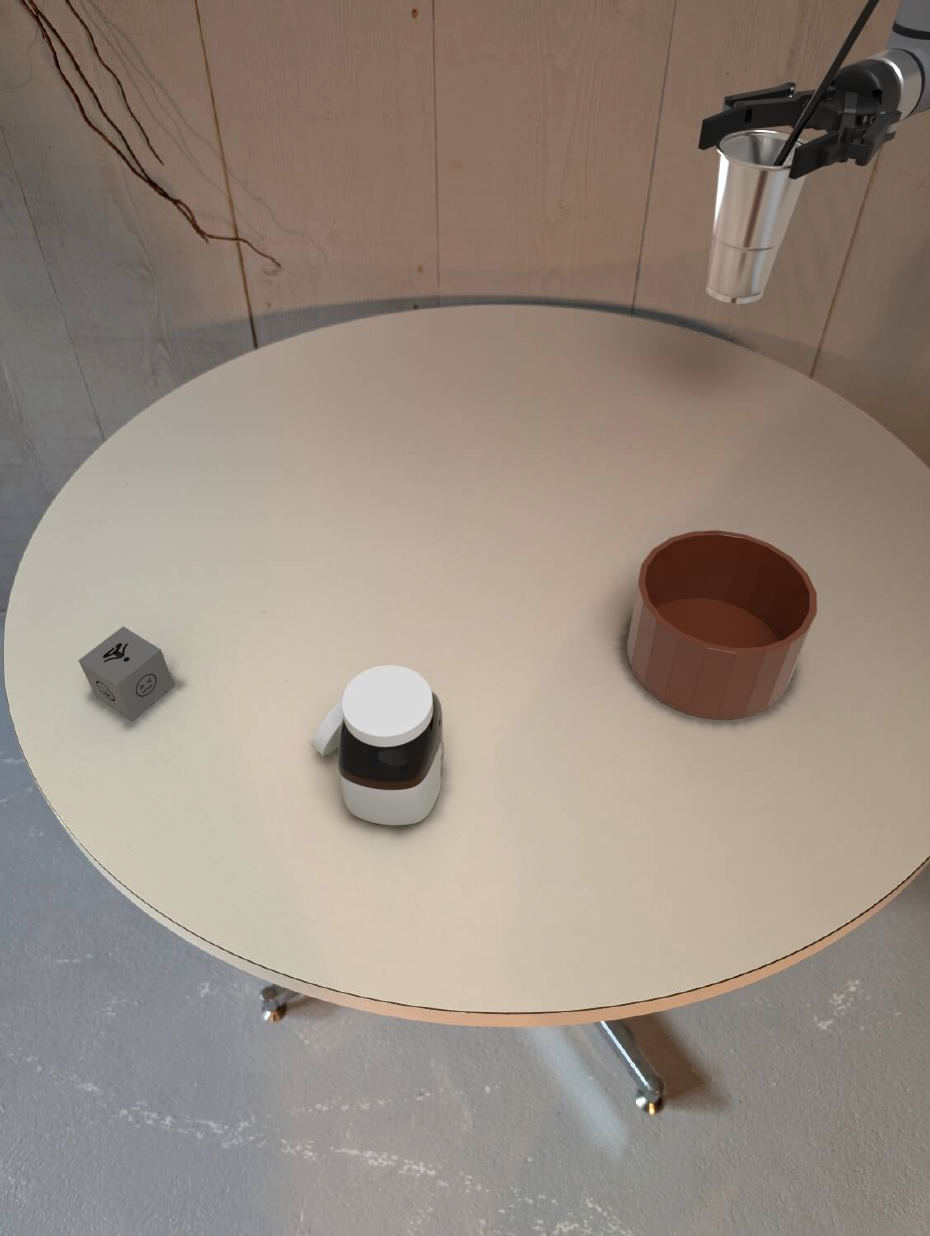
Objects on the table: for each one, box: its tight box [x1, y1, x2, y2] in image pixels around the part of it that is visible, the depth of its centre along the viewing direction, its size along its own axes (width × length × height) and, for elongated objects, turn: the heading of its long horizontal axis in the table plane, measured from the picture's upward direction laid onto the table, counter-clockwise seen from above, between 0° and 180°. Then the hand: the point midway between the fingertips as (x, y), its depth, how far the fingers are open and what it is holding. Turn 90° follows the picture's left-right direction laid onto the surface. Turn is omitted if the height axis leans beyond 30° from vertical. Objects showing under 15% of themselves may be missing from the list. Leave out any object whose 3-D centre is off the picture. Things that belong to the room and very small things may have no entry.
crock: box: [626, 529, 818, 720], centre depth 83 cm, size 15×15×9 cm
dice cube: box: [78, 625, 175, 722], centre depth 82 cm, size 5×5×5 cm
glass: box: [704, 0, 881, 306], centre depth 92 cm, size 11×11×30 cm
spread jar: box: [310, 664, 445, 827], centre depth 73 cm, size 12×11×12 cm
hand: (747, 149), depth 89 cm, fingers closed on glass, 10 cm apart
